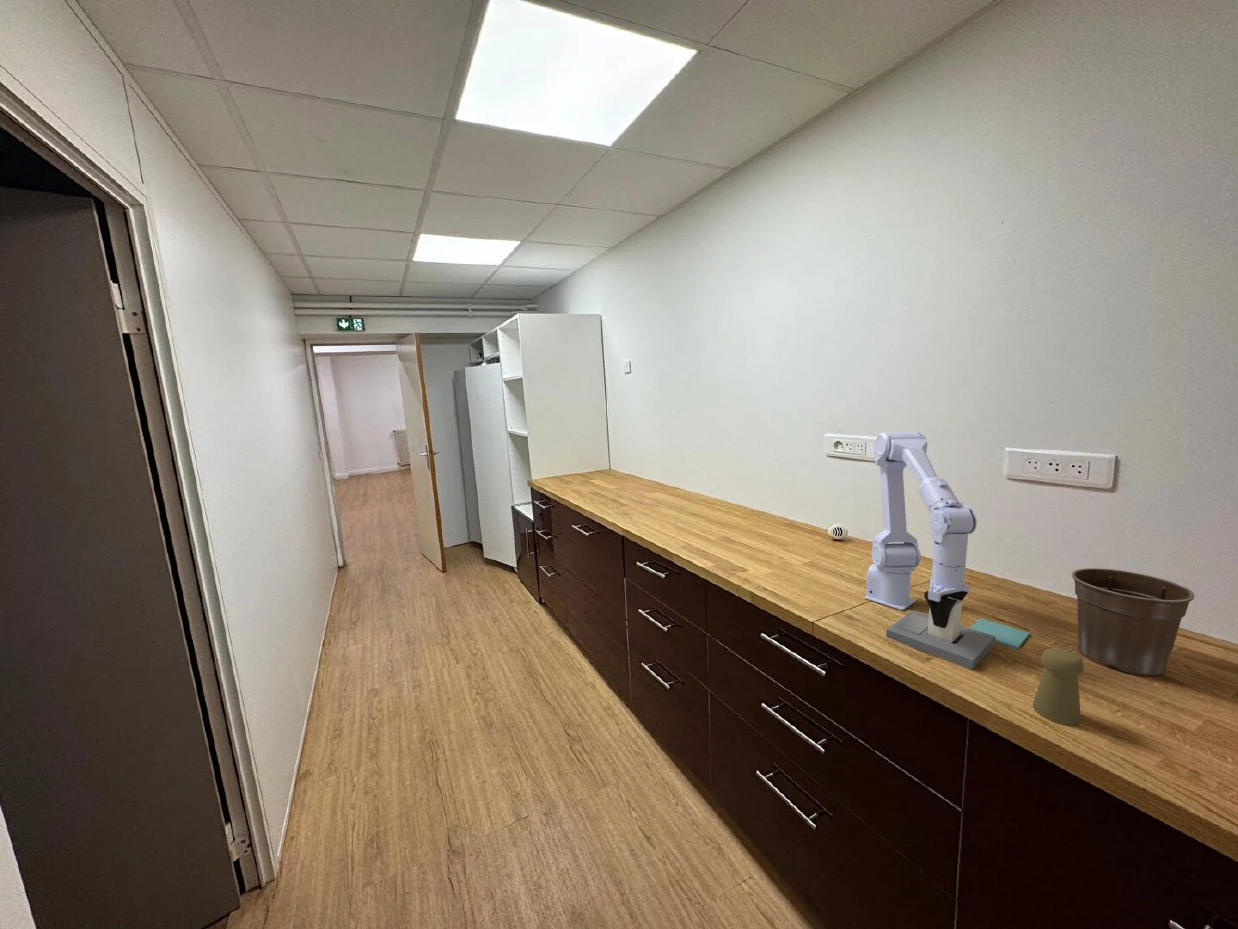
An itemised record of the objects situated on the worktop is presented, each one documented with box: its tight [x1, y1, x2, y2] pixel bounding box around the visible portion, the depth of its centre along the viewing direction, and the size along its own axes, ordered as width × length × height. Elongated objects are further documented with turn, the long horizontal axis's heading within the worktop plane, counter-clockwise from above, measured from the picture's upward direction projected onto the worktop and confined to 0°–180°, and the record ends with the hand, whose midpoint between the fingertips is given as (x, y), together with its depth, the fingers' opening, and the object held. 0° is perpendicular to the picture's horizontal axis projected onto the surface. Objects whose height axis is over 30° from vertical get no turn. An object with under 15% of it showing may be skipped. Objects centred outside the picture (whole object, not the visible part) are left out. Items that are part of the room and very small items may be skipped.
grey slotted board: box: [885, 610, 996, 670], centre depth 102 cm, size 16×14×2 cm
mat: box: [969, 618, 1030, 650], centre depth 105 cm, size 9×9×1 cm
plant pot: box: [1071, 567, 1195, 676], centre depth 93 cm, size 16×16×16 cm
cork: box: [1032, 648, 1085, 727], centre depth 79 cm, size 6×6×11 cm
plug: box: [927, 597, 963, 643], centre depth 101 cm, size 4×4×8 cm
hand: (944, 622), depth 101 cm, fingers closed on plug, 4 cm apart
